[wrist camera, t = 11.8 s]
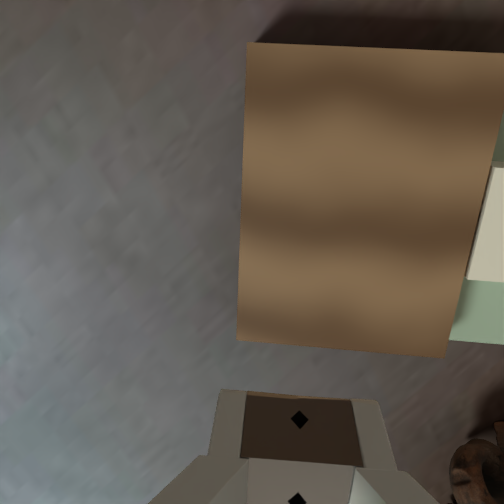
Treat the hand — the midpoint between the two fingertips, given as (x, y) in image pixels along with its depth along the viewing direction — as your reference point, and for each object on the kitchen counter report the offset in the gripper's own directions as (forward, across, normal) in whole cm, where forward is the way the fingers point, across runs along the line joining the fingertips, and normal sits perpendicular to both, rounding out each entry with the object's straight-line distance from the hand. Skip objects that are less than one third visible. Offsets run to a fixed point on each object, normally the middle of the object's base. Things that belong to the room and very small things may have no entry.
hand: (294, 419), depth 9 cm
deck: (+18, -4, +1) cm, 19 cm away
